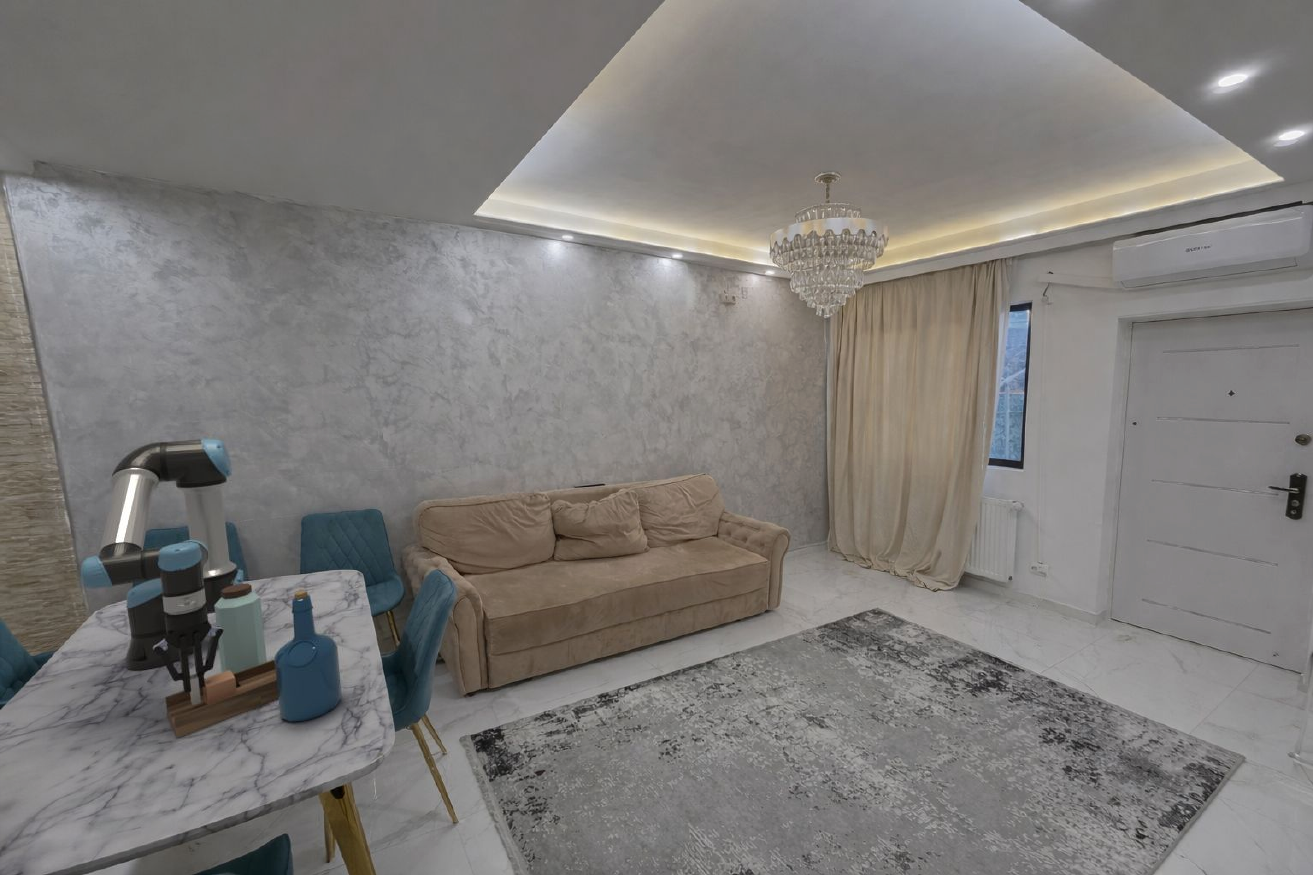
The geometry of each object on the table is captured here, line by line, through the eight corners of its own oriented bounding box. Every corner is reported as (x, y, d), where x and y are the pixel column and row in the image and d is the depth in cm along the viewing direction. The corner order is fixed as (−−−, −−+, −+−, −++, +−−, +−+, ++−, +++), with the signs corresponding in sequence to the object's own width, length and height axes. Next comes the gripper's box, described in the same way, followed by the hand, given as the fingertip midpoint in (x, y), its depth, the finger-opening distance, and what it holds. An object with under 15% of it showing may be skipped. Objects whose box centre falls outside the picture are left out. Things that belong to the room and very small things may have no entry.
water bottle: (242, 685, 143) (233, 596, 140) (212, 681, 145) (202, 593, 142) (276, 665, 152) (267, 582, 150) (247, 662, 154) (239, 580, 152)
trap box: (167, 716, 130) (164, 693, 129) (307, 664, 152) (305, 645, 152) (177, 738, 121) (174, 713, 121) (323, 680, 144) (321, 659, 144)
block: (204, 700, 132) (202, 679, 131) (232, 690, 136) (229, 669, 135) (209, 708, 128) (206, 687, 128) (237, 698, 132) (235, 677, 132)
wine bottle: (286, 699, 136) (275, 587, 133) (345, 686, 141) (336, 578, 138) (272, 731, 123) (259, 608, 120) (337, 716, 128) (327, 597, 125)
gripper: (150, 622, 119) (162, 721, 121) (223, 603, 129) (233, 695, 131) (146, 613, 124) (157, 708, 126) (217, 596, 134) (226, 684, 136)
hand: (196, 701), depth 128 cm, fingers closed
